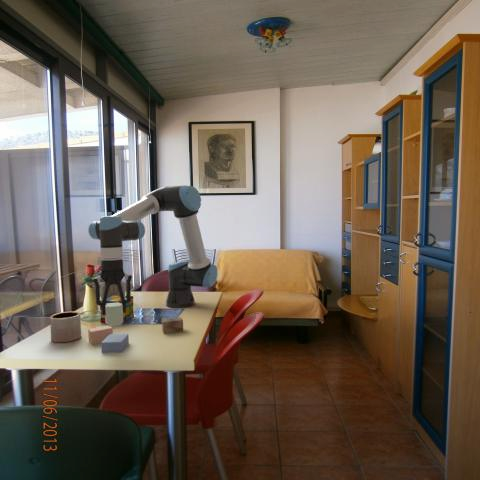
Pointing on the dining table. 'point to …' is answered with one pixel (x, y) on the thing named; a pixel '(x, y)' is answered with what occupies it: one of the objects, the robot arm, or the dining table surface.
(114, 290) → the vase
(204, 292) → the dining table surface
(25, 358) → the dining table surface
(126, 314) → the toy
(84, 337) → the dining table surface
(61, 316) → the planter
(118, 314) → the sage brick
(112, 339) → the slate brick
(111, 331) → the terracotta brick
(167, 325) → the walnut brick
